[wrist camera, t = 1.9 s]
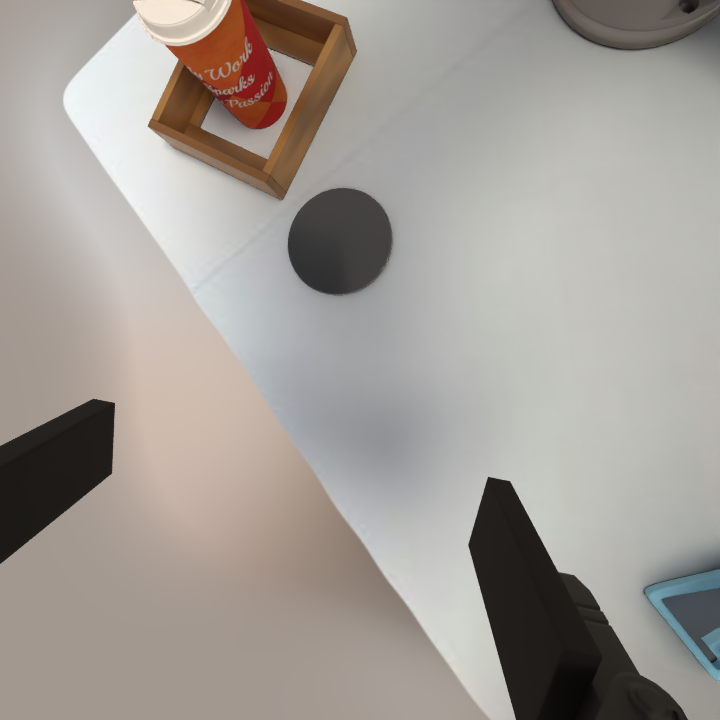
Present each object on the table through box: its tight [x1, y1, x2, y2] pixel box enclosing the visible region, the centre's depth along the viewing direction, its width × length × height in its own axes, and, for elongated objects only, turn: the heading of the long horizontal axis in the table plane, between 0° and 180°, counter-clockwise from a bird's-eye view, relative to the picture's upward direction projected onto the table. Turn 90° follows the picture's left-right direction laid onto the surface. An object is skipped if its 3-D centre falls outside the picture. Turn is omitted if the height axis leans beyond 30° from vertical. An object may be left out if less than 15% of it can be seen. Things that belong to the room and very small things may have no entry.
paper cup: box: [133, 0, 287, 129], centre depth 36 cm, size 8×8×14 cm
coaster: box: [288, 188, 392, 295], centre depth 41 cm, size 10×10×1 cm
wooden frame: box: [148, 0, 357, 200], centre depth 41 cm, size 16×14×4 cm
